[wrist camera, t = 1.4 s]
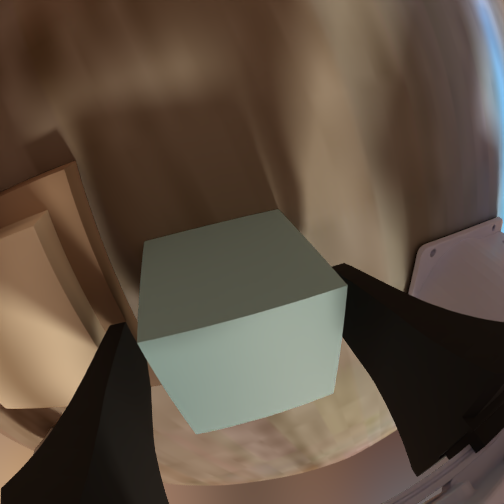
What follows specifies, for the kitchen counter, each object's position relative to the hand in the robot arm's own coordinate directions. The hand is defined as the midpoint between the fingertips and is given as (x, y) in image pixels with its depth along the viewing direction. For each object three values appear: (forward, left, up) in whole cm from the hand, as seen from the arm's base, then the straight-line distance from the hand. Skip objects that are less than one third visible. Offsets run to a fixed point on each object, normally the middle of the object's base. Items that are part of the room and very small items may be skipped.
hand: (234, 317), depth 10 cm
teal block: (0, 0, -2) cm, 2 cm away
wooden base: (+9, -1, -2) cm, 9 cm away
